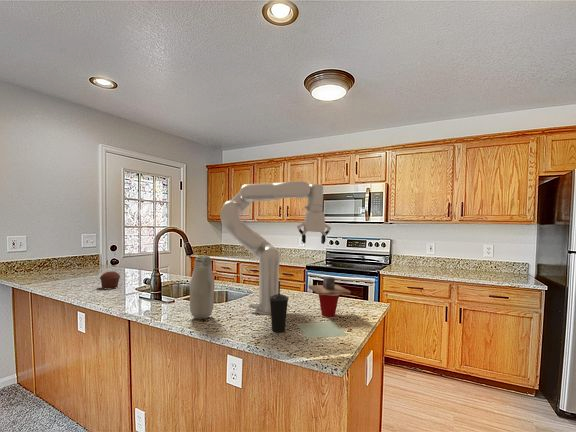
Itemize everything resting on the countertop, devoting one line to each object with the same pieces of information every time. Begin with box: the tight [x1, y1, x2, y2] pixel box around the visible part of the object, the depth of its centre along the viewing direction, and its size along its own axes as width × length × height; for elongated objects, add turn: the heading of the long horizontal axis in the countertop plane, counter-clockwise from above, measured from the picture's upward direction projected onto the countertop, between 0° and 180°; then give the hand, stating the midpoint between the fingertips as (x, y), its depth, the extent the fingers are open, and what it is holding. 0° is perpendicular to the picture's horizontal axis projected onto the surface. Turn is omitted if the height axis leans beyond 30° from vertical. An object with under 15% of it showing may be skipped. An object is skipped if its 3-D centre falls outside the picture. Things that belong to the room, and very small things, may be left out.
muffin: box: [99, 270, 121, 289], centre depth 191 cm, size 12×11×10 cm
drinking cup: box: [269, 280, 290, 334], centre depth 117 cm, size 8×8×20 cm
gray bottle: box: [189, 254, 215, 320], centre depth 133 cm, size 10×10×28 cm
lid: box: [307, 276, 352, 296], centre depth 138 cm, size 15×15×6 cm
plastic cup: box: [318, 294, 341, 318], centre depth 138 cm, size 11×11×12 cm
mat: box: [296, 320, 349, 339], centre depth 119 cm, size 16×16×1 cm
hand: (313, 243), depth 148 cm, fingers open, 9 cm apart
